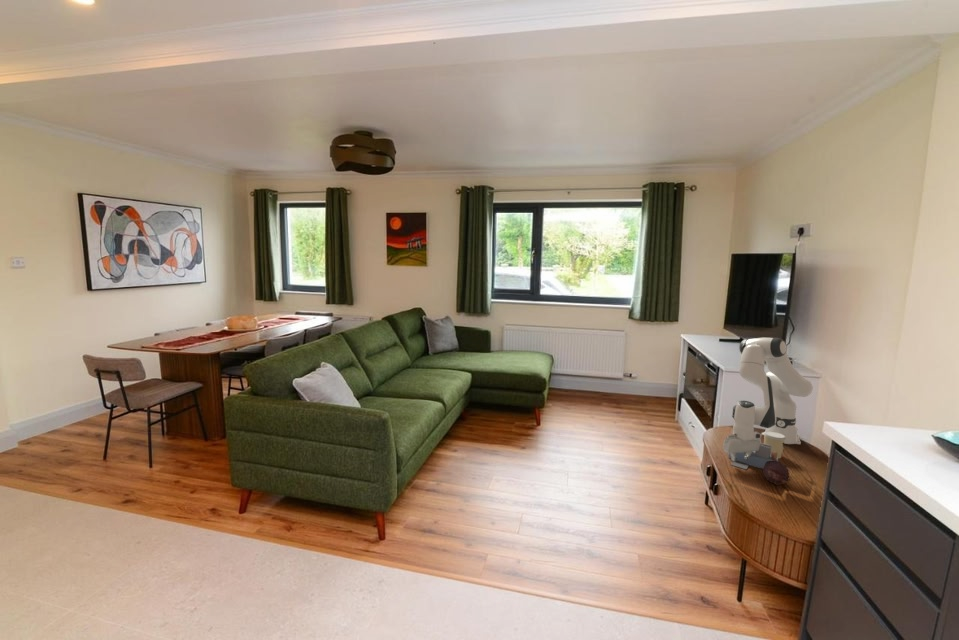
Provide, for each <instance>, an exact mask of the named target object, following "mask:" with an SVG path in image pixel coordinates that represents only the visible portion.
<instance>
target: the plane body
mask: <svg viewBox="0 0 959 640" xmlns="http://www.w3.org/2000/svg"><path fill="white" fill-rule="evenodd" d="M761 444H763V445H764V446H762V445H760V447H759V450H758V451H753V452H752V454H751V455H750V456H749V459H748V460H746V459H744V455H746V453H743V452H740V453H736V454H735V457H736V458H737V459H736V462H739V463H743V464H746V465H749V466H752V467H755V468H758V469H762V470H763V468H764V465H765V463H766V462H767V461H773V460H774V461H775V460H776V461H778V462H779V458H778V457H777V454H778V453H777V452H775V451H772V454H771V447H772V446H771V445H767V444H764V442H763V443H762V442H761ZM731 457H732V456H731V455H730V454H728V459H730V460H731Z"/></svg>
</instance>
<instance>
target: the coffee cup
mask: <svg viewBox="0 0 959 640" xmlns="http://www.w3.org/2000/svg"><path fill="white" fill-rule="evenodd" d="M764 432H765V431H764ZM763 436H764V437H763V438H764V439H763V444H767V445H771V446H772V447H771V454H772V451H775V452H777V453H778V454H777V457H778V459H782V456H783V450H784V447H785V444H784V442H785V436H784V435H782V434H780V433H776V432H765V433H764V435H763Z"/></svg>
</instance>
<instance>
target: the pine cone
mask: <svg viewBox="0 0 959 640" xmlns="http://www.w3.org/2000/svg"><path fill="white" fill-rule="evenodd" d="M762 471H763V472H762V473H763V475H764V478H765V479H766V480H767V481H768V482H770V483H772V484H775V485H777V486H778V485H783V484H787V483H788V482H790V479H789V478H790V471H789V469H788V467H787V465H784V463H782V462H781V461H779V460H778V461H776V460H775V461H774V460H773V461H767V462H766V463H765V465H764V468H763V469H762Z"/></svg>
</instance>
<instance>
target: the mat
mask: <svg viewBox="0 0 959 640" xmlns="http://www.w3.org/2000/svg"><path fill="white" fill-rule="evenodd" d="M730 466H732V467H735V468H739V469H741V470H748V469H749V467H750V465H748V464H745V463H742V462H739V461H733V460H732V462H731V463H730Z"/></svg>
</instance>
